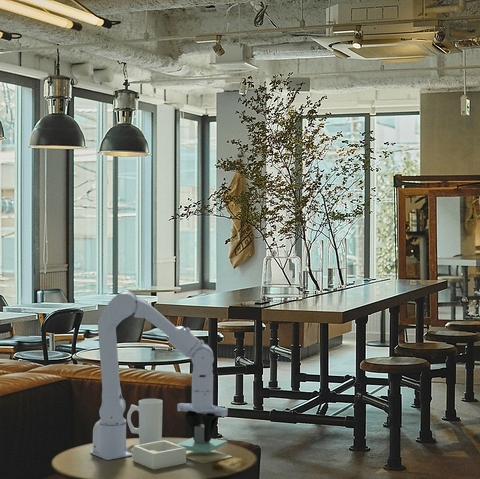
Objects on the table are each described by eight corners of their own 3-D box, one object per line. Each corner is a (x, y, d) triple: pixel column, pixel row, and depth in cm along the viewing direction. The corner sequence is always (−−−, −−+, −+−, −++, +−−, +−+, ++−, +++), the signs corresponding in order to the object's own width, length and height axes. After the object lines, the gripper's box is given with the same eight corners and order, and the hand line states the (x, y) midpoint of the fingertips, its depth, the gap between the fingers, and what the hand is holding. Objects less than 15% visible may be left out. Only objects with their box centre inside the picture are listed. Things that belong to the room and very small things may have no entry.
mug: (163, 440, 261) (163, 398, 261) (161, 446, 255) (161, 403, 254) (128, 440, 261) (128, 398, 261) (125, 446, 255) (125, 403, 254)
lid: (176, 450, 243) (176, 427, 243) (195, 442, 252) (195, 420, 252) (209, 455, 239) (209, 431, 239) (227, 446, 248) (227, 424, 247)
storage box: (133, 460, 239) (133, 445, 239) (164, 454, 245) (164, 440, 245) (153, 469, 231) (153, 453, 231) (186, 463, 238) (186, 447, 237)
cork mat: (172, 452, 248) (172, 451, 248) (201, 446, 254) (201, 445, 254) (202, 463, 237) (202, 462, 237) (232, 457, 243) (232, 456, 243)
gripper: (171, 389, 245) (171, 440, 245) (218, 395, 238) (218, 446, 239) (185, 385, 251) (184, 434, 252) (231, 390, 245) (231, 440, 245)
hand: (202, 440), depth 246 cm, fingers closed on lid, 3 cm apart
